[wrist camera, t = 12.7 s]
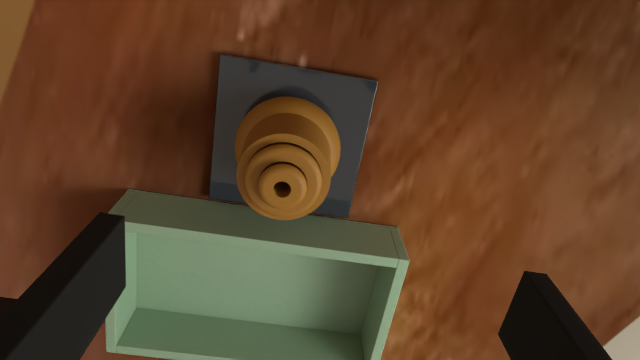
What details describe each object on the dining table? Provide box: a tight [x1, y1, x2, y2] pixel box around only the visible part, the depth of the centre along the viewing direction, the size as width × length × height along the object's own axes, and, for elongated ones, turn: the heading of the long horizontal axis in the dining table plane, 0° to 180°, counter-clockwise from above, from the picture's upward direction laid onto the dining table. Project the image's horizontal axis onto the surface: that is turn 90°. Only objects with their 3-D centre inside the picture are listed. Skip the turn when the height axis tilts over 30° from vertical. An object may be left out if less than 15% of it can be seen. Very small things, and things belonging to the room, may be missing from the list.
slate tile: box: [209, 53, 378, 218], centre depth 33 cm, size 11×11×1 cm
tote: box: [105, 189, 409, 360], centre depth 36 cm, size 22×12×5 cm, turn 80°
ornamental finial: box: [235, 96, 341, 220], centre depth 29 cm, size 8×8×8 cm
